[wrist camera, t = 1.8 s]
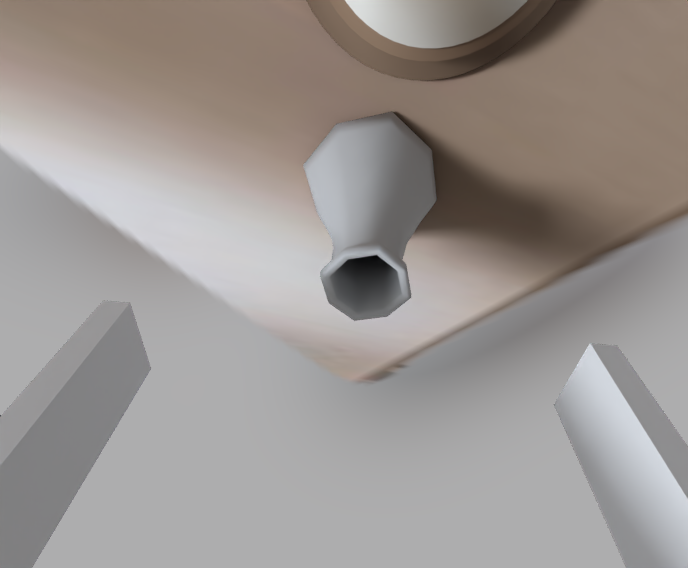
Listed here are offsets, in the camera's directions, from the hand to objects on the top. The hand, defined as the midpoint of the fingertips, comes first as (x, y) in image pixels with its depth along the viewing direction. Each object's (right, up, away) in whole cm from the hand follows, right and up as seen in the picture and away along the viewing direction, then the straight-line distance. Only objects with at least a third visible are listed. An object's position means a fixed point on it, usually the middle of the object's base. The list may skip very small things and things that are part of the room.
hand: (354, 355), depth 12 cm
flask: (+1, +8, +11) cm, 13 cm away
